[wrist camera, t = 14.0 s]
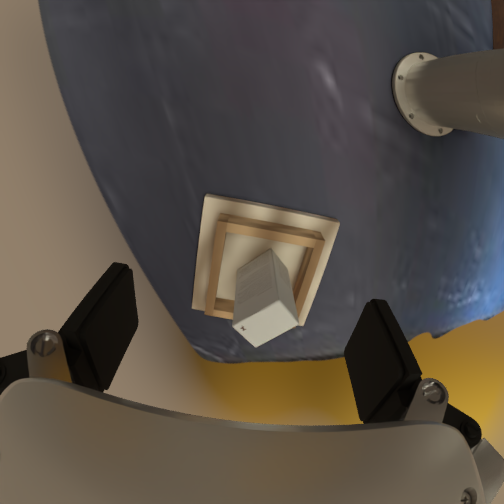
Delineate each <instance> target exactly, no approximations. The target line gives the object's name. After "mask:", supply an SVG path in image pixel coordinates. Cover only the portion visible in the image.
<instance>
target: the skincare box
mask: <svg viewBox="0 0 504 504" xmlns="http://www.w3.org/2000/svg"><path fill="white" fill-rule="evenodd" d="M298 324H299V319H298V315H297V310H296V305H295V301H294V296H293V291H292V287H291V282H290V278H289V273H288V269H287V267H286V266H285V265H284V264H283V262H282V261H281V260H280V258H279V257H278V256H277V255H276V253H275V252H274V251H273V249H269V250H268V251H266V252H265V253H263V254H262V255H260V256H259V257H257V258H256V259H254V260H253V261H251V262H249V263H248V264H246V265H245V266H243V267H242V268H240V269H239V270H237V278H236V290H235V301H234V313H233V325H232V327H233V328H234V329H236V330H237V331H238V332H239V333H240V334H241V335H242V336H243V337H244V338H245V339H247V340H248V341H249V342H250V343H251V344H252V345H253V346H254V347H258V346H259V345H261V344H263V343H265V342H267V341H269V340H271V339H273V338H275V337H276V336H278V335H280V334H282V333H284V332H286V331H287V330H289V329H291V328H293V327H295V326H297V325H298Z"/></svg>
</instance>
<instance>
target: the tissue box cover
mask: <svg viewBox="0 0 504 504" xmlns="http://www.w3.org/2000/svg"><path fill="white" fill-rule="evenodd" d="M491 4H492V16H493V50H495V49H504V0H491Z"/></svg>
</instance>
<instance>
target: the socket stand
mask: <svg viewBox="0 0 504 504" xmlns="http://www.w3.org/2000/svg"><path fill="white" fill-rule="evenodd" d="M339 225H340V222H339V221H338V220H337V219H334V218H329V217H325V216H320V215H316V214H311V213H307V212H302V211H297V210H292V209H287V208H283V207H278V206H272V205H267V204H262V203H257V202H252V201H246V200H241V199H235V198H230V197H224V196H218V195H212V194H206V196H205V199H204V206H203V213H202V221H201V228H200V236H199V245H198V253H197V262H196V271H195V281H194V291H193V302H192V309H197V310H203V311H205V315H210V316H216V317H221V318H227V319H233V313H234V301H235V290H236V278H237V270H239V269H240V268H242V267H243V266H245V265H246V264H248V263H249V262H251V261H253V260H254V259H256V258H257V257H259V256H260V255H262V254H263V253H265V252H266V251H268V250H269V249H273V251H274V252H275V253H276V255H277V256H278V257H279V258H280V260H281V261H282V262H283V264H284V265H285V266H286V267H287V269H288V273H289V278H290V282H291V287H292V291H293V296H294V301H295V305H296V310H297V315H298V319H299V324H298V325H300V326H303V325H304V323H305V320H306V318H307V315H308V313H309V310H310V307H311V305H312V302H313V300H314V297H315V294H316V292H317V289H318V286H319V283H320V281H321V278H322V275H323V272H324V269H325V267H326V264H327V261H328V258H329V255H330V252H331V249H332V246H333V243H334V240H335V237H336V234H337V231H338V228H339ZM295 327H296V326H295ZM295 327H293V328H295Z"/></svg>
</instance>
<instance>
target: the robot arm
mask: <svg viewBox="0 0 504 504" xmlns="http://www.w3.org/2000/svg"><path fill="white" fill-rule="evenodd" d="M398 77H399V79H398ZM392 88H393V95H394V99H395V102H396V104H397V107H398V109H399V111H400V113H401V114H402V116H403V117H404V119H405V120H406V121H407V122H408V123H409V124H410V125H411V126H412V127H413V128H414V129H416V130H417V131H419V132H421V133H423V134H426V135H430V136H443V135H446V134H448V133H450V132H451V131H452V130H453V129H459V130H464V131H469V132H474V133H479V134H484V135H488V136H493V137H497V138H501V139H504V49H495V50H486V51H478V52H471V53H464V54H458V55H453V56H447V57H442V58H437V57H435V56H433V55H431V54H428V53H424V52H416V53H412V54H409V55H406V56H405V57H403V58H402V59H401V60H400V61H399V62H398V64H397V65H396V68H395V70H394V73H393V78H392ZM137 327H138V315H137V307H136V299H135V290H134V281H133V271H132V269H129V266H128V265H127V264H122V263H117V262H114V263H113V264H112V265H111V266H110V267H109V268H108V269H107V271H106V272H105V273H104V274H103V275H102V276H101V278H100V279H99V280H98V281H97V283H96V284H95V285H94V286H93V288H92V289H91V290H90V291H89V292H88V294H87V295H86V296H85V297H84V299H83V300H82V301H81V302H80V304H79V305H78V306H77V308H76V309H75V310H74V312H73V313H72V314H71V315H70V317H69V318H68V320H67V321H66V322H65V323H64V325H63V326H62V328H61V329H60V330H59V332H58V333H57V332H55V331H53V330H48V329H47V330H41V331H38V332H37V333H35V334H33V335H32V336H31V338H30V339H29V341H28V343H27V350H25V351H21V352H18V353H15V354H11V355H8V356H5V357H2V358H0V504H491V502H492V501H493V499H494V497H495V496H496V494H497V492H498V491H499V489H500V487H501V486H502V483H503V482H504V459H503V458H502V456H501V455H500V454H499V453H498V452H497V451H496V450H495V449H494V448H493V446H492V445H491V444H490V443H489V442H488V441H487V440H486V439H485V438H483V439H482V440H481V435H482V434H481V428H480V426H479V424H478V423H477V422H476V421H475V420H474V419H472V418H471V417H469V416H468V415H466V414H464V413H463V412H461V411H460V410H458V409H456V408H455V407H453V406H452V405H450V404H449V403H448V397H449V396H448V392H447V390H446V388H445V386H444V385H443V384H442V383H441V382H439V381H438V380H436V379H433V378H426V379H423V380H422V379H421V375H422V372H421V370H420V368H419V365H418V363H417V361H416V359H415V357H414V354H413V353H412V350H411V348H410V346H409V344H408V342H407V340H406V338H405V336H404V334H403V332H402V330H401V328H400V326H399V324H398V322H397V320H396V318H395V316H394V315H393V313H392V311H391V309H390V307H389V305H388V303H387V302H386V300H380V299H372V300H371V301H370V302H367V303H366V305H365V307H364V309H363V312H362V314H361V316H360V318H359V320H358V323H357V325H356V327H355V329H354V331H353V333H352V335H351V337H350V339H349V341H348V343H347V345H346V347H345V351H344V357H345V360H346V364H347V368H348V372H349V376H350V380H351V384H352V388H353V392H354V397H355V401H356V405H357V410H358V414H359V418H360V420H361V421H363V423H364V424H354V425H333V426H332V425H330V426H298V425H273V424H259V423H248V422H238V421H230V420H222V419H215V418H209V417H202V416H196V415H191V414H185V413H180V412H175V411H170V410H166V409H161V408H157V407H153V406H148V405H145V404H141V403H137V402H133V401H130V400H126V399H122V398H119V397H116V396H112V395H109V394H106V393H103V391H104V390H108V389H109V386H110V384H111V382H112V380H113V378H114V376H115V373H116V371H117V369H118V367H119V365H120V363H121V361H122V358H123V356H124V354H125V352H126V350H127V348H128V346H129V344H130V342H131V340H132V337H133V336H134V334H135V332H136V330H137Z"/></svg>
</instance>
